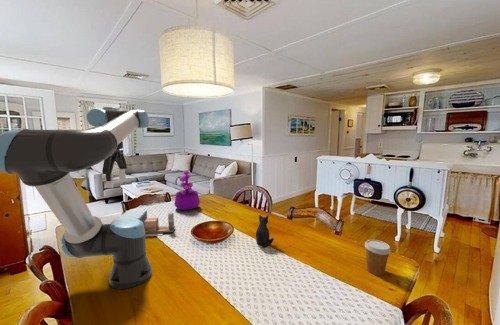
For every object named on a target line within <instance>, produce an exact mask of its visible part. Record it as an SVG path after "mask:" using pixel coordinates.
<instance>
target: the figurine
mask: <svg viewBox="0 0 500 325" xmlns="http://www.w3.org/2000/svg"><path fill="white" fill-rule="evenodd" d="M258 219H259V220H258V221H259V223H258V227H257V229H256V232H255V242H256V243H257V244H258V246H260V247H262V248H268V247H269V246H270V245H271V244H272V243H273V241H274V240H275V239H274V238H273V237H272V238H270V230H269V228H268V226H267V224H268V223H269V215H265V216H262V215H261V214H259V215H258Z"/></svg>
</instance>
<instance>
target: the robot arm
mask: <svg viewBox="0 0 500 325" xmlns="http://www.w3.org/2000/svg"><path fill="white" fill-rule="evenodd" d="M149 120H150V119H149V114H148V112H147V111H146V110H141V109H120V108H119V107H114V106H103V107H102V108H92V109H90V110H88V112H87V114H86V121H87V122H88V124H89V125H90V126H92V127H90V128H87V129H29V128H23V129H11V130H6V131H4V132H2V133H1V134H0V172H1V173H4V174H8V175H13V174H15V175H17V176H18V178H19V180H20V181H21V182H22V183H23V184H24V185H25V186H27V187H32V188H33V187H34V188H35V190H36V191H37V192H38V193H39V195H40V196H41V197H42V199H43V201H44V202H45V203H46V205H47V206H48V207H49V209H50V210H51V212H52V213H53V215H54V216H55V217H56V219H57V220H58V221H59V223H60V224H61V226H62V227H63V229H64V233H63V234H62V236H61V245H62V246H61V249H62V251H63V253H64V254H65V255H66V256H67V257H69V258H76V259H77V258H78V259H81V258H82V259H83V258H89V257H100V256H101V257H102V256H112V266H111V269H110V272H109V275H108V276H109V278H108V281H109V286H110V287H112V288H113V289H119V290H125V289H131V288H133V287H136V286H139V285H141V284H143V283H144V282H146V281H147V280H148V279H149V278H150V277H151V275H152V273H153V272H152V265H151V262H150V259H149V258H148V256H147V250H146V248H147V247H146V244H147V243H146V236H145V229H144V224H143V222H142V221H140V220H139V219H136V218H122V219H118V218H116V219H115V220H112V221H111V222H110V223H107V224H106V223H103V222H102V220H101V219H100V218H99V217H98V216H95V215H93V213H92V212H91V210H90V209H89V207H88V205H87V203H86V201H85V199H84V197H83V195H82V193H81V192H80V190H79V189H78V187H77V185H76V183H75V182H74V179H73V177H72V175H71V174H70V173H74V172H79V171H83V170H86V169H89V168H92V167H94V166H95V165H98V164H100V163H101V162H103V166H102V170H101V171H102V172H101V173H102V174H103V175H105V185H106V189H114V188H115V187H114V176H113V175H114V174H113V173H112V171H113V169H114V166H115V163H116V164H117V166H118V176H119V177H118V178H119V182H120V183H121V182H123V183H124V182H126V181H127V178H126V169H128V166H127V162H126V158H125V155H124V150H123V149H124V142H123V141H124V140H125V139H126V138H128V137H129V136H130V135H131V134H132V133H133V132H135V131H136V130H137V129H139V128H140V129H143V128H144V129H146V128H147V127H148V126H149V122H150V121H149Z"/></svg>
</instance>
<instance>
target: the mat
mask: <svg viewBox="0 0 500 325" xmlns="http://www.w3.org/2000/svg"><path fill="white" fill-rule="evenodd" d="M163 235H164V233H147V234H145V237H160V236H163Z"/></svg>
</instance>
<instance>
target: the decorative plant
mask: <svg viewBox="0 0 500 325" xmlns="http://www.w3.org/2000/svg"><path fill="white" fill-rule="evenodd" d="M190 178H191V175H190V171H189V170H187V169H186V170H183V175H181V176H179V181H180V182H181V183H180V186H181V187H182V188H183V190H180V191H177V192H176V193H175V200H174V207H175V208H176V209H179V210H184V211H188V210H192V209H193V210H194V209H195V208H197V207H199V206H200V203H201V201H200V197H199V193H198V191H196V190H194V189H193V188H192V187H193V186H194V184H193V182H189V179H190Z"/></svg>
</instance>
